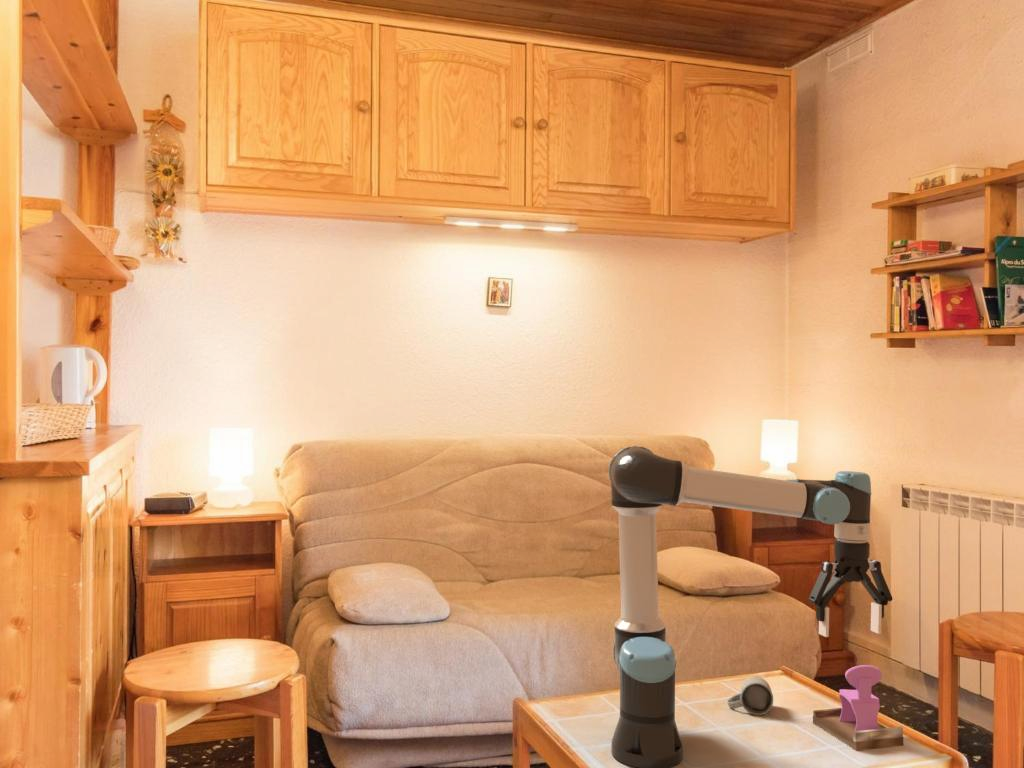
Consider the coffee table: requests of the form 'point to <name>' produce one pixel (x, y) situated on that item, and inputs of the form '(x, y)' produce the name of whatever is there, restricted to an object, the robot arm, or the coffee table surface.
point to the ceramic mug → (753, 696)
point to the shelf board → (857, 739)
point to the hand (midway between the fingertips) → (849, 633)
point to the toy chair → (861, 697)
